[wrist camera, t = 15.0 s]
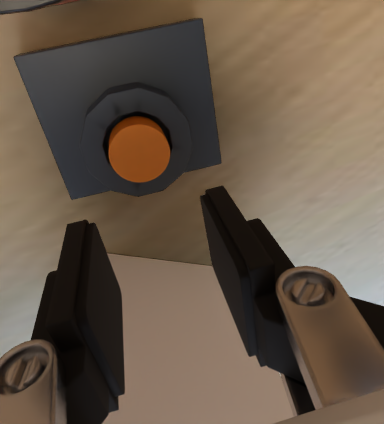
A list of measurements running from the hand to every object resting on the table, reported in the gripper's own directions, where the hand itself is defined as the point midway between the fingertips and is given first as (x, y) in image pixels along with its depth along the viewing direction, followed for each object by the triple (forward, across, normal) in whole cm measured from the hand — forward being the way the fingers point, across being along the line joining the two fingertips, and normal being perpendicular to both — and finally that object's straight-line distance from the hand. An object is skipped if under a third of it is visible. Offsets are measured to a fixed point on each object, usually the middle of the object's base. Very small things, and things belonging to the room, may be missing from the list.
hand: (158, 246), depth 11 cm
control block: (+13, 0, -1) cm, 13 cm away
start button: (+10, 0, 0) cm, 10 cm away
